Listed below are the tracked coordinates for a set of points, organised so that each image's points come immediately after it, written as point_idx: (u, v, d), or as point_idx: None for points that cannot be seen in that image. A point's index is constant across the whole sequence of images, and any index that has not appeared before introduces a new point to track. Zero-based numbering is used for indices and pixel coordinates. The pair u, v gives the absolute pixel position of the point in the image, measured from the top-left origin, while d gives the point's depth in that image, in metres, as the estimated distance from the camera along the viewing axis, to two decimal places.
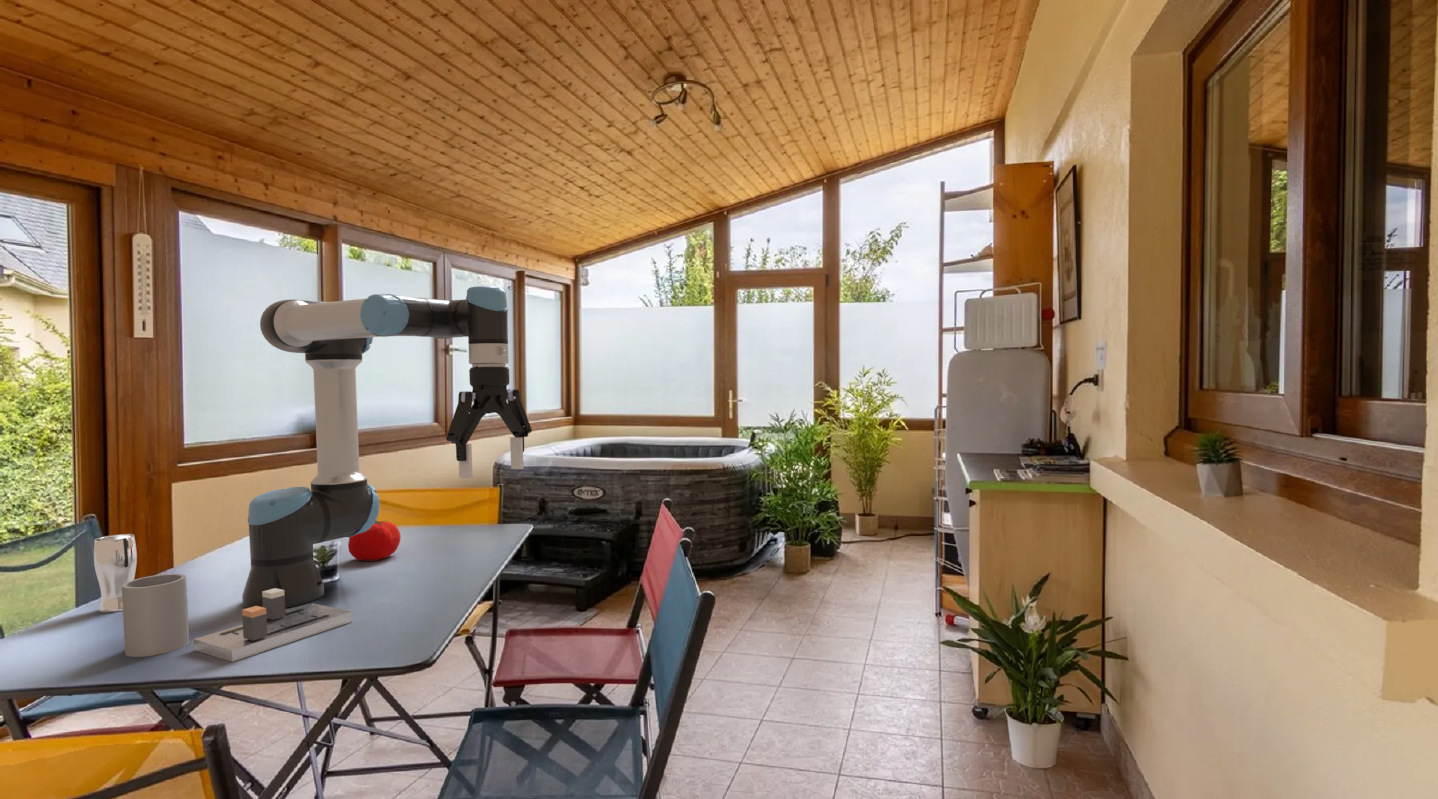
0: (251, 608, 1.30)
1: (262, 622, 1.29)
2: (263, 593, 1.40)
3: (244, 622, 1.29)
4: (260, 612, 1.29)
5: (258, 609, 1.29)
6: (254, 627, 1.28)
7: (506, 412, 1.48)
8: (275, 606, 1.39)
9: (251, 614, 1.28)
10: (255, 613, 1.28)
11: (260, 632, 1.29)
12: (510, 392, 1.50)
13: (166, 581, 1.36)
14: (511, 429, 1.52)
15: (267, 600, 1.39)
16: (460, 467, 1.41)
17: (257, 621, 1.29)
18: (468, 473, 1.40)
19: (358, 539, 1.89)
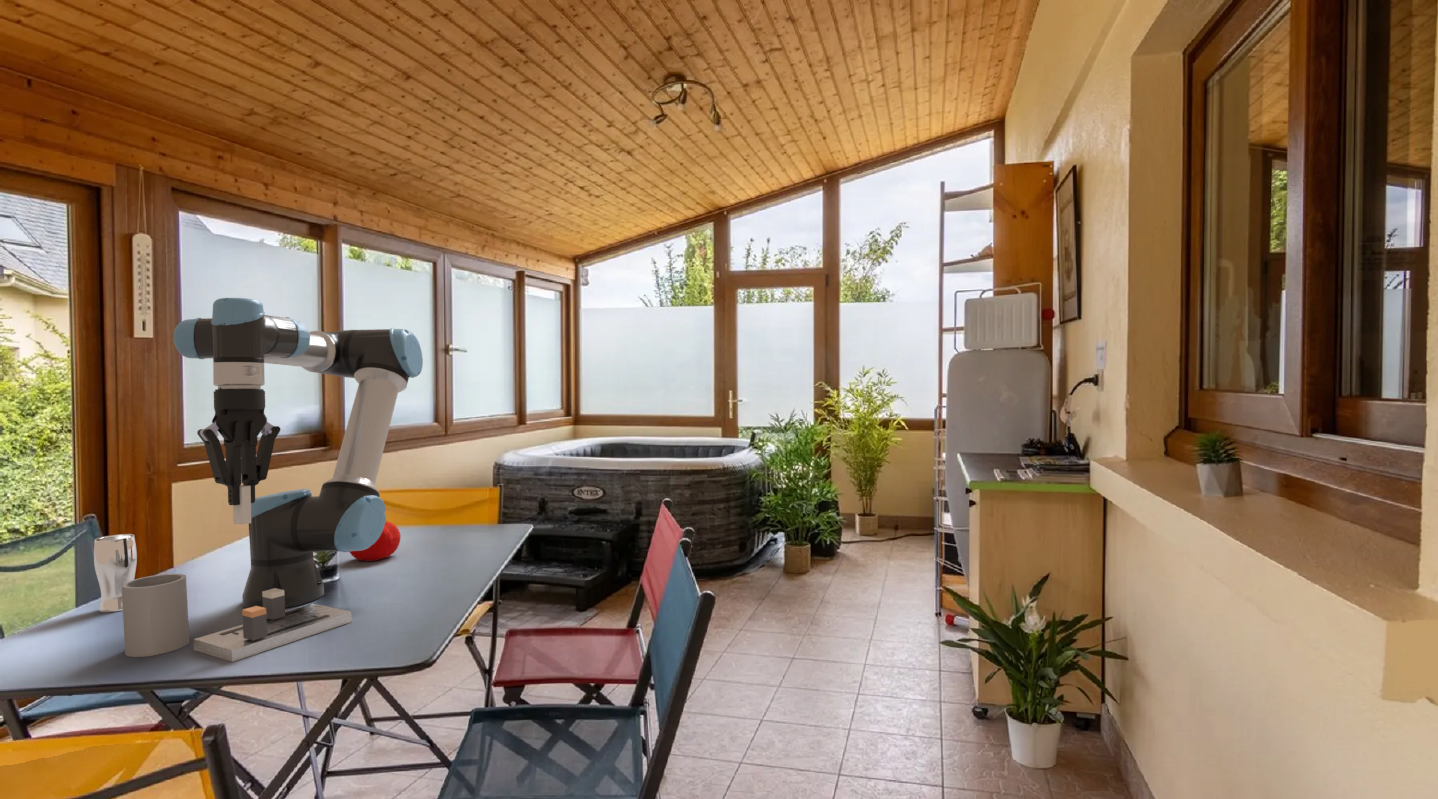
0: (251, 608, 1.30)
1: (262, 622, 1.29)
2: (263, 593, 1.40)
3: (244, 622, 1.29)
4: (260, 612, 1.29)
5: (258, 609, 1.29)
6: (254, 627, 1.28)
7: (249, 443, 1.29)
8: (275, 606, 1.39)
9: (251, 614, 1.28)
10: (255, 613, 1.28)
11: (260, 632, 1.29)
12: (269, 425, 1.33)
13: (166, 581, 1.36)
14: (243, 471, 1.30)
15: (267, 600, 1.39)
16: (234, 512, 1.29)
17: (257, 621, 1.29)
18: (241, 518, 1.28)
19: None
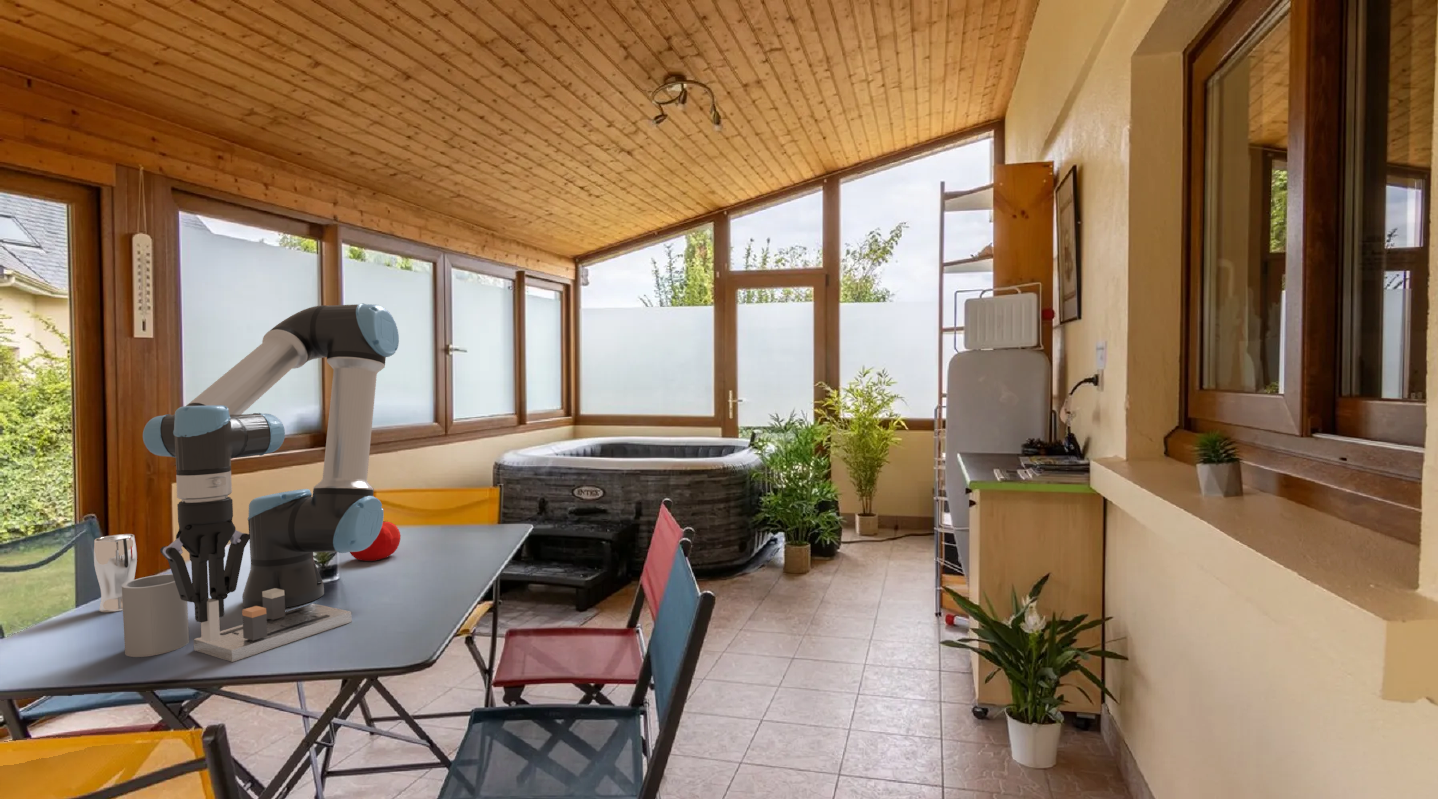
0: (251, 608, 1.30)
1: (262, 622, 1.29)
2: (263, 593, 1.40)
3: (244, 622, 1.29)
4: (260, 612, 1.29)
5: (258, 609, 1.29)
6: (254, 627, 1.28)
7: (216, 556, 1.23)
8: (275, 606, 1.39)
9: (251, 614, 1.28)
10: (255, 613, 1.28)
11: (260, 632, 1.29)
12: (238, 533, 1.27)
13: (166, 581, 1.36)
14: (211, 584, 1.24)
15: (267, 600, 1.39)
16: (202, 627, 1.23)
17: (257, 621, 1.29)
18: (209, 635, 1.22)
19: None
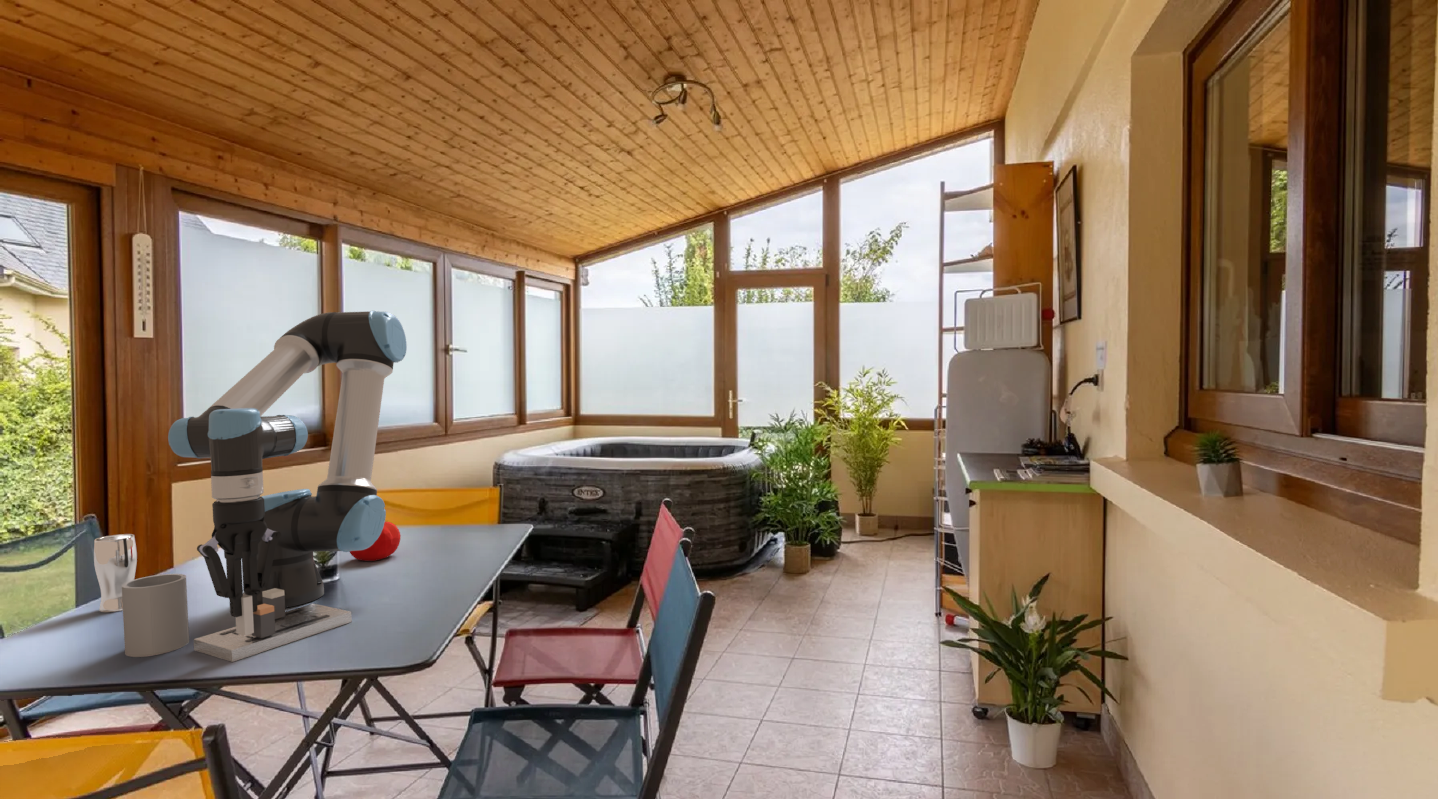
0: (259, 606, 1.31)
1: (270, 620, 1.31)
2: (263, 593, 1.40)
3: None
4: (268, 610, 1.30)
5: (266, 607, 1.31)
6: (262, 625, 1.29)
7: (249, 553, 1.28)
8: (275, 606, 1.39)
9: (259, 612, 1.29)
10: (263, 611, 1.30)
11: (268, 629, 1.30)
12: (270, 531, 1.32)
13: (166, 581, 1.36)
14: (244, 580, 1.29)
15: (267, 600, 1.39)
16: (236, 622, 1.28)
17: (266, 618, 1.30)
18: (244, 629, 1.27)
19: None
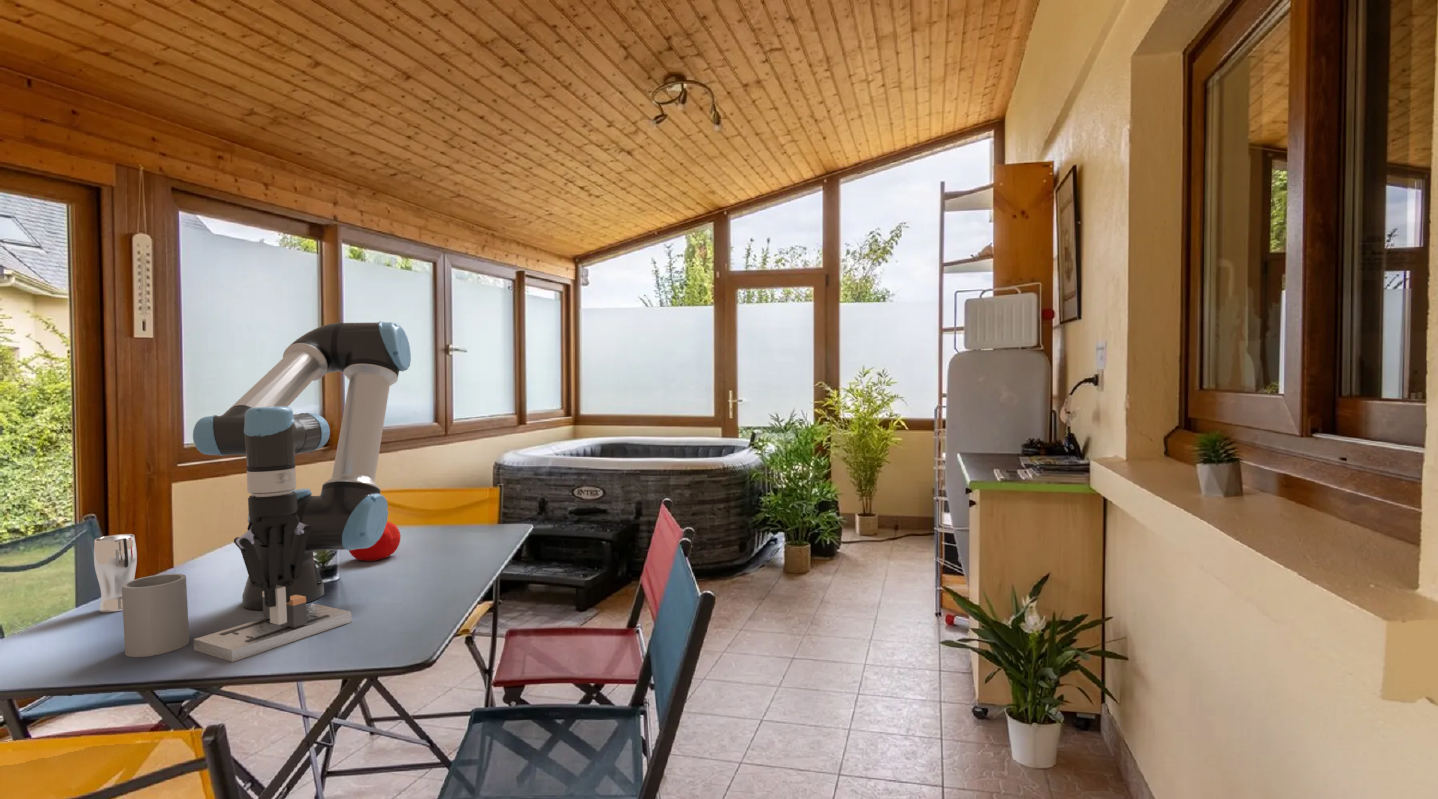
0: (291, 597, 1.36)
1: (302, 610, 1.36)
2: (263, 593, 1.40)
3: None
4: (300, 600, 1.36)
5: (298, 597, 1.36)
6: (294, 615, 1.35)
7: (283, 546, 1.33)
8: None
9: (292, 602, 1.34)
10: (296, 601, 1.35)
11: (300, 619, 1.36)
12: (302, 525, 1.37)
13: (166, 581, 1.36)
14: (278, 571, 1.34)
15: None
16: (270, 612, 1.33)
17: (298, 609, 1.35)
18: (277, 619, 1.32)
19: None
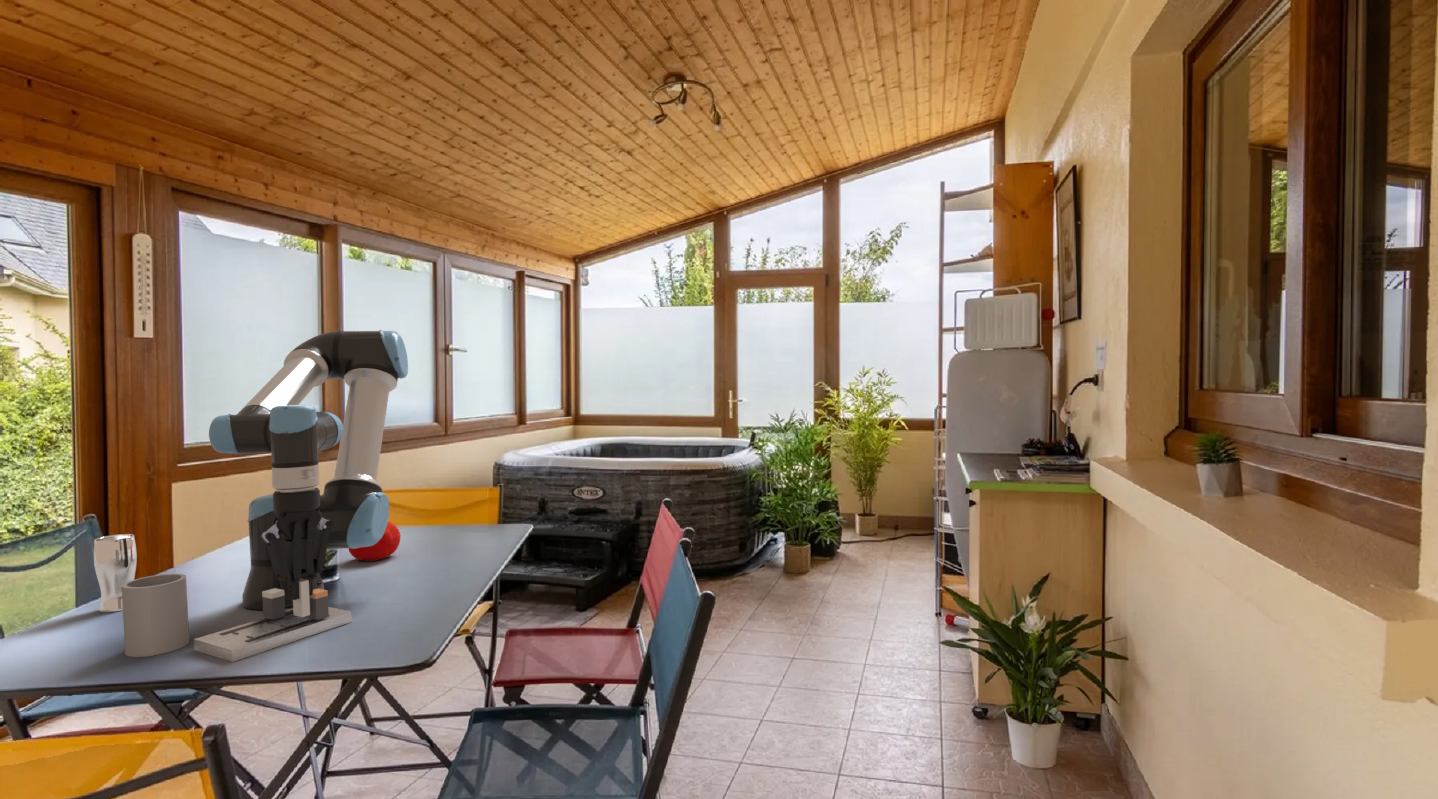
0: (314, 591, 1.40)
1: (324, 603, 1.40)
2: (263, 593, 1.40)
3: None
4: (322, 594, 1.39)
5: (320, 591, 1.39)
6: (317, 608, 1.38)
7: (306, 540, 1.37)
8: (275, 606, 1.39)
9: (314, 596, 1.38)
10: (318, 595, 1.39)
11: (322, 612, 1.39)
12: (324, 520, 1.41)
13: (166, 581, 1.36)
14: (301, 565, 1.38)
15: (267, 600, 1.39)
16: (294, 605, 1.37)
17: (320, 602, 1.39)
18: (301, 611, 1.36)
19: None
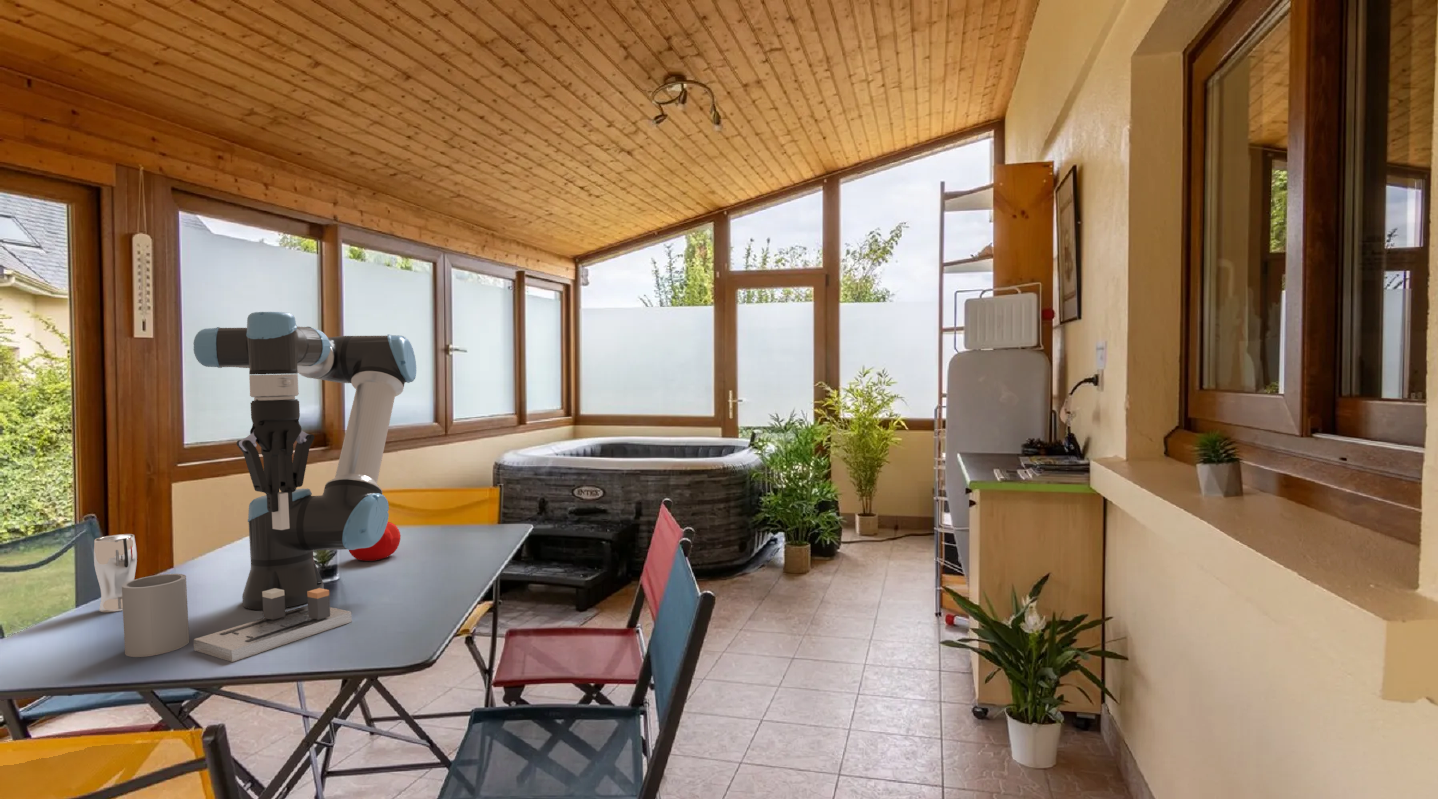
0: (315, 590, 1.40)
1: (326, 603, 1.40)
2: (263, 593, 1.40)
3: (309, 603, 1.40)
4: (324, 593, 1.40)
5: (322, 591, 1.40)
6: (318, 608, 1.39)
7: (285, 452, 1.33)
8: (275, 606, 1.39)
9: (316, 595, 1.38)
10: (320, 594, 1.39)
11: (324, 612, 1.40)
12: (304, 433, 1.37)
13: (166, 581, 1.36)
14: (280, 478, 1.34)
15: (267, 600, 1.39)
16: (273, 518, 1.34)
17: (322, 602, 1.39)
18: (280, 524, 1.33)
19: None
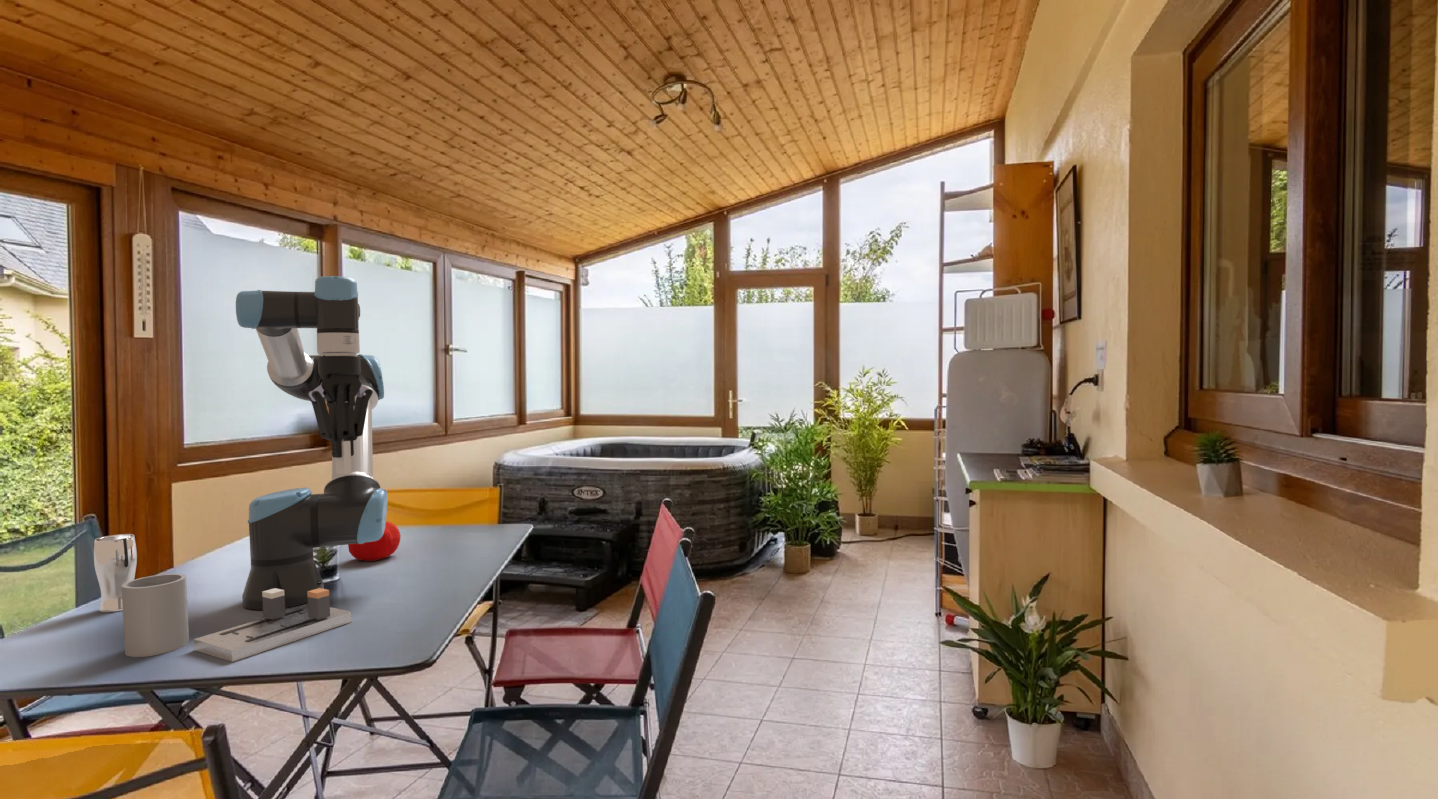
0: (315, 590, 1.40)
1: (326, 603, 1.40)
2: (263, 593, 1.40)
3: (309, 603, 1.40)
4: (324, 593, 1.40)
5: (322, 591, 1.40)
6: (318, 608, 1.39)
7: (348, 404, 1.47)
8: (275, 606, 1.39)
9: (316, 595, 1.38)
10: (320, 594, 1.39)
11: (324, 612, 1.40)
12: (363, 388, 1.51)
13: (166, 581, 1.36)
14: (343, 428, 1.48)
15: (267, 600, 1.39)
16: (336, 464, 1.48)
17: (322, 602, 1.39)
18: (343, 469, 1.47)
19: None
